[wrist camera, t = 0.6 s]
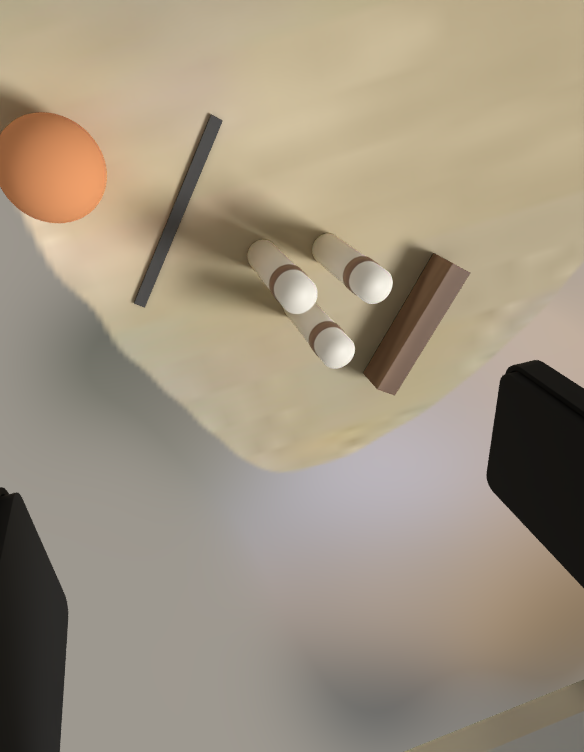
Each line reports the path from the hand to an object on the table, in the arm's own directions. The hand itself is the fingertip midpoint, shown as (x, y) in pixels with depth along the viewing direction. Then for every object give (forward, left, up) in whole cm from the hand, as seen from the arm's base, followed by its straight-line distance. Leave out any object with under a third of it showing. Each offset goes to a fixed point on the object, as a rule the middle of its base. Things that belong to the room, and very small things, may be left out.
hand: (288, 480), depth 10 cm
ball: (-6, -1, -28) cm, 29 cm away
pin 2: (+13, -3, -31) cm, 34 cm away
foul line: (+2, -1, -31) cm, 31 cm away
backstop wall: (+23, -1, -31) cm, 39 cm away
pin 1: (+13, +2, -31) cm, 34 cm away
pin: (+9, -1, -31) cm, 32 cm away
